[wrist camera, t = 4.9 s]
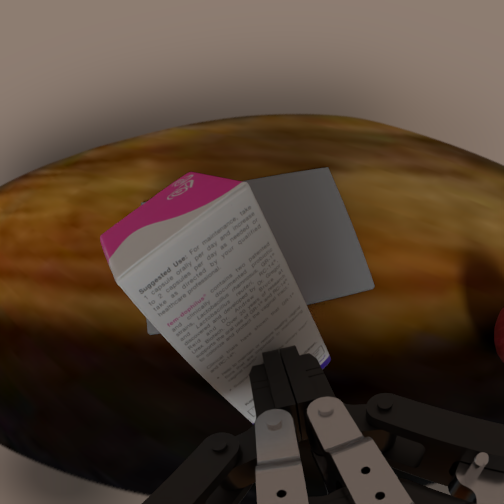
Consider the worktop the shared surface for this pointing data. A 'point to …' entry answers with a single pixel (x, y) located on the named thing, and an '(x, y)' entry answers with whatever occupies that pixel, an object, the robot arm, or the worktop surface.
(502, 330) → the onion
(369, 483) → the robot arm
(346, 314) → the worktop surface
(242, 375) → the supplement box
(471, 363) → the worktop surface
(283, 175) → the mat
